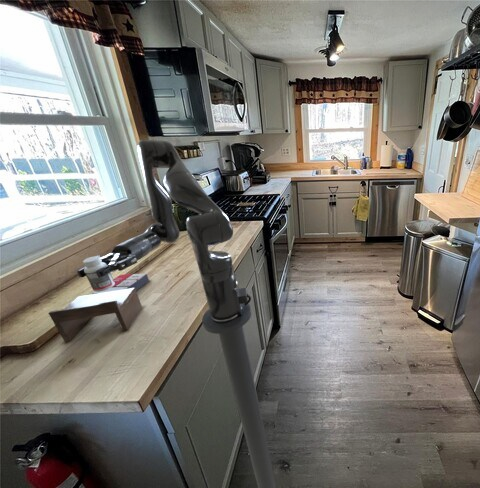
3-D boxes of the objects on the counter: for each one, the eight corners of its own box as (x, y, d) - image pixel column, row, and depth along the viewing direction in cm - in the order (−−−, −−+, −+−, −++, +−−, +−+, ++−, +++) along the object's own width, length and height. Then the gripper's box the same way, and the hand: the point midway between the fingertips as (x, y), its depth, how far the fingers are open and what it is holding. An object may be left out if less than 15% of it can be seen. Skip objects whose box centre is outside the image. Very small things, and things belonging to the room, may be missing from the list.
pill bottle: (98, 284, 81) (85, 256, 77) (118, 281, 82) (106, 253, 79) (89, 293, 76) (75, 264, 72) (111, 289, 78) (98, 261, 74)
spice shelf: (142, 307, 89) (132, 281, 85) (127, 330, 78) (115, 301, 74) (87, 316, 85) (74, 289, 81) (64, 342, 74) (48, 313, 70)
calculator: (147, 272, 104) (120, 291, 90) (149, 281, 106) (124, 302, 92) (119, 273, 104) (88, 293, 90) (123, 283, 106) (93, 303, 92)
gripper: (110, 240, 89) (60, 263, 74) (149, 240, 88) (106, 263, 72) (118, 259, 92) (72, 285, 77) (155, 259, 91) (116, 286, 75)
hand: (88, 274), depth 75 cm, fingers closed on pill bottle, 5 cm apart
